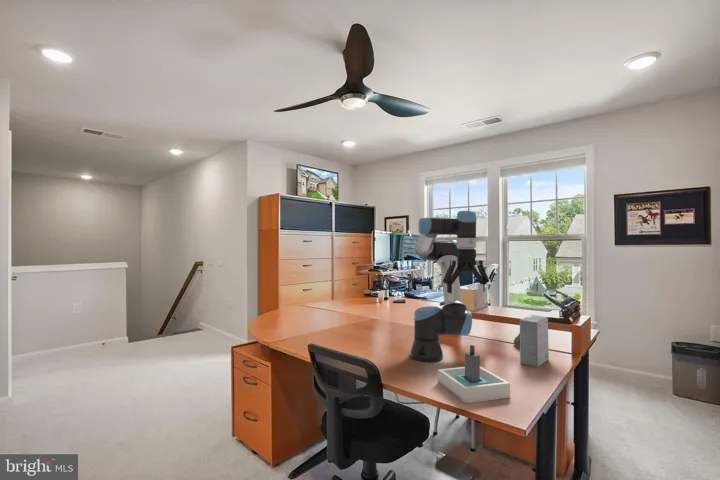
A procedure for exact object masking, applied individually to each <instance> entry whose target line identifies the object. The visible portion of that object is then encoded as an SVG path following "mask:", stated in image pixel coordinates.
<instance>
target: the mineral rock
mask: <svg viewBox="0 0 720 480" xmlns="http://www.w3.org/2000/svg"><path fill="white" fill-rule="evenodd" d="M513 344H514V345H515V346H516V347H517V348H518V349H520V332H519V333H518V335H517V336H516V337H514V339H513Z"/></svg>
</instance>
